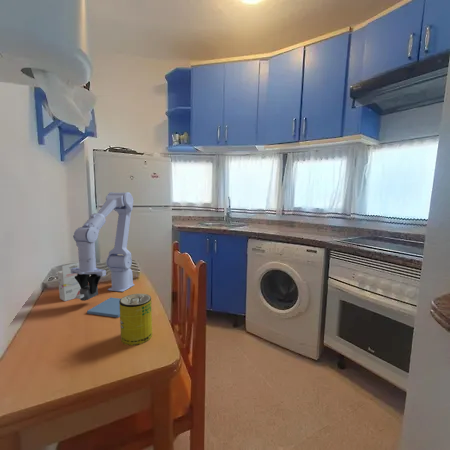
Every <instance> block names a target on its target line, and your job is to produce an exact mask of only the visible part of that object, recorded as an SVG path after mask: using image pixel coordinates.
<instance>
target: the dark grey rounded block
mask: <svg viewBox="0 0 450 450" xmlns="http://www.w3.org/2000/svg"><path fill="white" fill-rule="evenodd" d="M98 285H99V284H98ZM98 285H97V289H96V292H95V293H93V294H91V293H90V286H89V284H88V286H85V287H83V288H81V289H80V294H78V295H76V298H75V299H80V301H82V302H83V301H88V300H90V299H92V298H95V297H96V296H98V295H99V288H98V287H99V286H98Z"/></svg>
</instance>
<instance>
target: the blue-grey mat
mask: <svg viewBox="0 0 450 450" xmlns="http://www.w3.org/2000/svg"><path fill="white" fill-rule="evenodd" d="M120 299H121V298H118V297H108V298H107V299H106V300H104V301H102V302H100V303H98V304H97V305H95V306H93V307H92V308H90V309H88V310H87V311H86V314H88V315H96V316H101V317H102V316H103V317H111V318H117V319H118V318H119V319H120V304H119V301H120Z"/></svg>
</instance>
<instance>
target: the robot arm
mask: <svg viewBox="0 0 450 450" xmlns="http://www.w3.org/2000/svg"><path fill="white" fill-rule="evenodd" d="M133 207H134V197H133V195H132V193H131V192H129V191H127V192H124V191H123V192H120V191H119V192H115V191H114V192H113V191H110V192H108V193H107V195H106V196H105V202H104V203H103V204H102V206H101V207H100V209H99V210H98V212H97V213H95V212H94V213H91V215H90V217H89V218H88V219H87V220H86V221H85V222H84V223H83V225H82V226H81V227H80V226H79V227H78V228H77V229H75V231H74V233H73V235H72V238H73V240H74V241H75V243H76V247H77V250H78V251H77V253H78V254H77V255H78V263H79V268H76V267H71V268H72V269H71V268H69V269H70V270H71V274H74V273H76V274H77V276H75V279H76V280H77V281H78V283H79V285H80V287H81V288H83V287H85V286H88V285H89V286H90V293H91V294H93V293H95V292H96V289H97V285H99V282H100V280H101V278H102V277H104V276H107V270H106V269H100V268H98V267H97V261H96V245H95V244H96V243H95V242H96V241H97V240H98V237H99V234H100V230H101V229H102V228H103V226H104V225H105V224H106V222H107V221H106V219H107V217H108V215H110V214H111V213H112V212H113V210H114V211H115V212H117V214H118V217H117V225H116V232H115V239H114V247H113V248H112V249H111V250H109V252H108V256H107V258H106V260H105V261H106V262H105V263H106V267H108V268H109V271H110V272H111V273H110V275H111V279H110V280H111V287H109V288H107V291H113V292H118V293H119V292H121V293H122V292H125V291H127V290H129V289H130V288H132V287H134V286H135V283H134V279H133V278H134V277H133V269H131V267H132V264H133V261H132V260H133V259H132V252H131V251H130V250H129V249H128V242H129V240H128V239H129V232H130V224H131V216H132V212H133Z"/></svg>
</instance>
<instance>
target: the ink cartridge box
mask: <svg viewBox="0 0 450 450" xmlns="http://www.w3.org/2000/svg"><path fill="white" fill-rule="evenodd" d="M73 267H75V268H79V262H76V263H75V262H74V263H70V264H66V265H62V266H61V268H62V269H61V270H60V271H57V280H58V282H57V283H58V293H59V299H60V300H62V301H64V302H68V301H70V300H73V299H77V298H76V295H78V294H80V289H81V287H80V285H79V283H78V281H77V280H76V279H75V276H77V274H76V273H74V274H71V270H70V269H72V268H73Z"/></svg>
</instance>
